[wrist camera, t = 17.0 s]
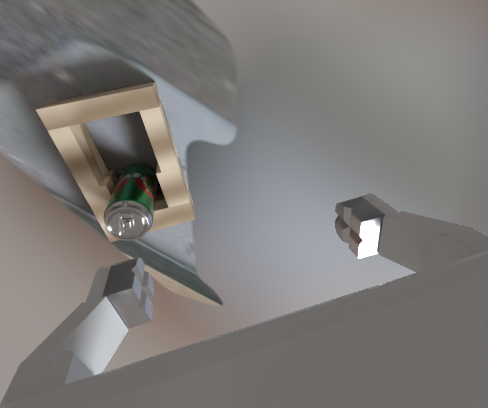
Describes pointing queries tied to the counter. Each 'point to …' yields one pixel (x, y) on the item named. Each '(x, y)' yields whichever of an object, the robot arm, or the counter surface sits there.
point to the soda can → (132, 203)
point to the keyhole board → (91, 163)
